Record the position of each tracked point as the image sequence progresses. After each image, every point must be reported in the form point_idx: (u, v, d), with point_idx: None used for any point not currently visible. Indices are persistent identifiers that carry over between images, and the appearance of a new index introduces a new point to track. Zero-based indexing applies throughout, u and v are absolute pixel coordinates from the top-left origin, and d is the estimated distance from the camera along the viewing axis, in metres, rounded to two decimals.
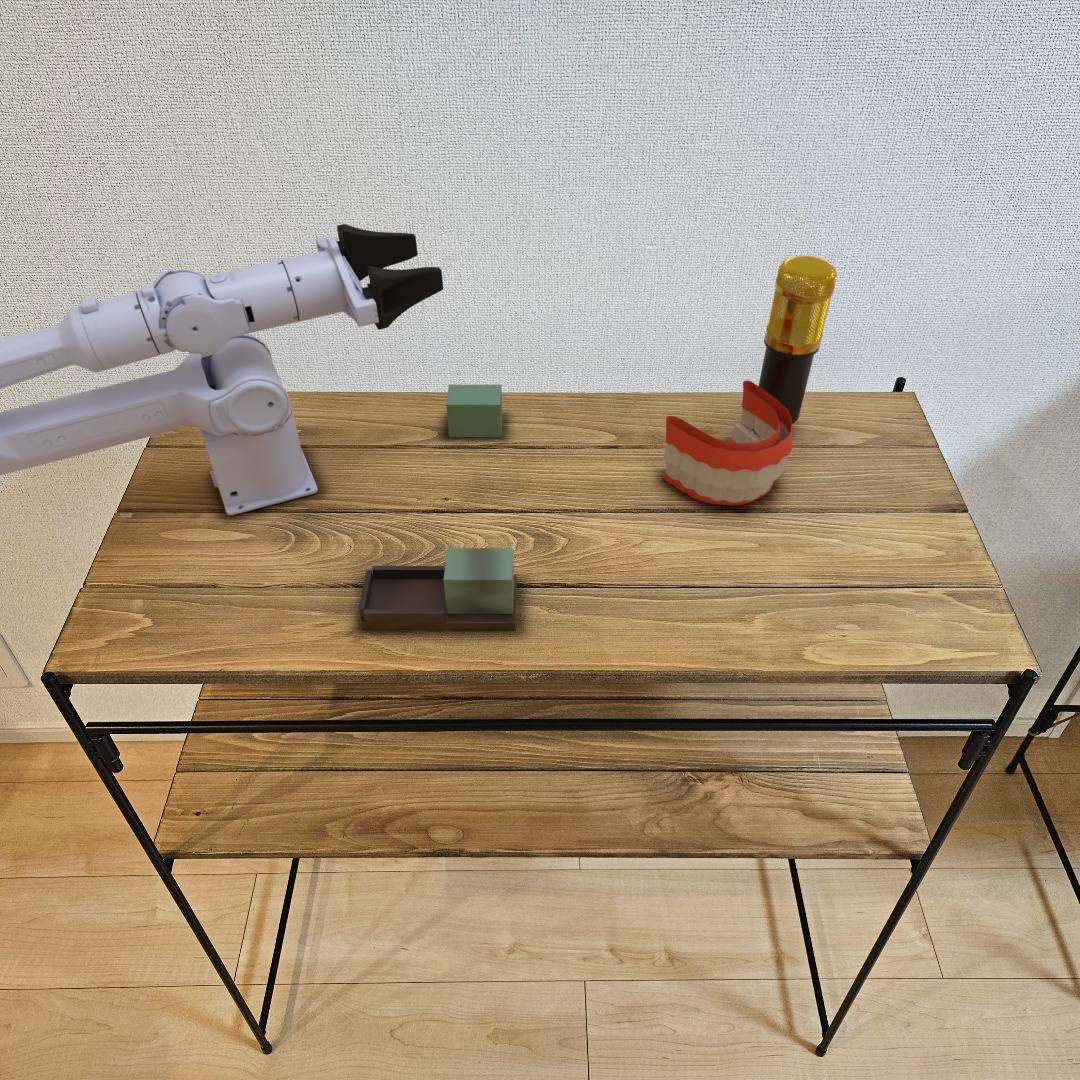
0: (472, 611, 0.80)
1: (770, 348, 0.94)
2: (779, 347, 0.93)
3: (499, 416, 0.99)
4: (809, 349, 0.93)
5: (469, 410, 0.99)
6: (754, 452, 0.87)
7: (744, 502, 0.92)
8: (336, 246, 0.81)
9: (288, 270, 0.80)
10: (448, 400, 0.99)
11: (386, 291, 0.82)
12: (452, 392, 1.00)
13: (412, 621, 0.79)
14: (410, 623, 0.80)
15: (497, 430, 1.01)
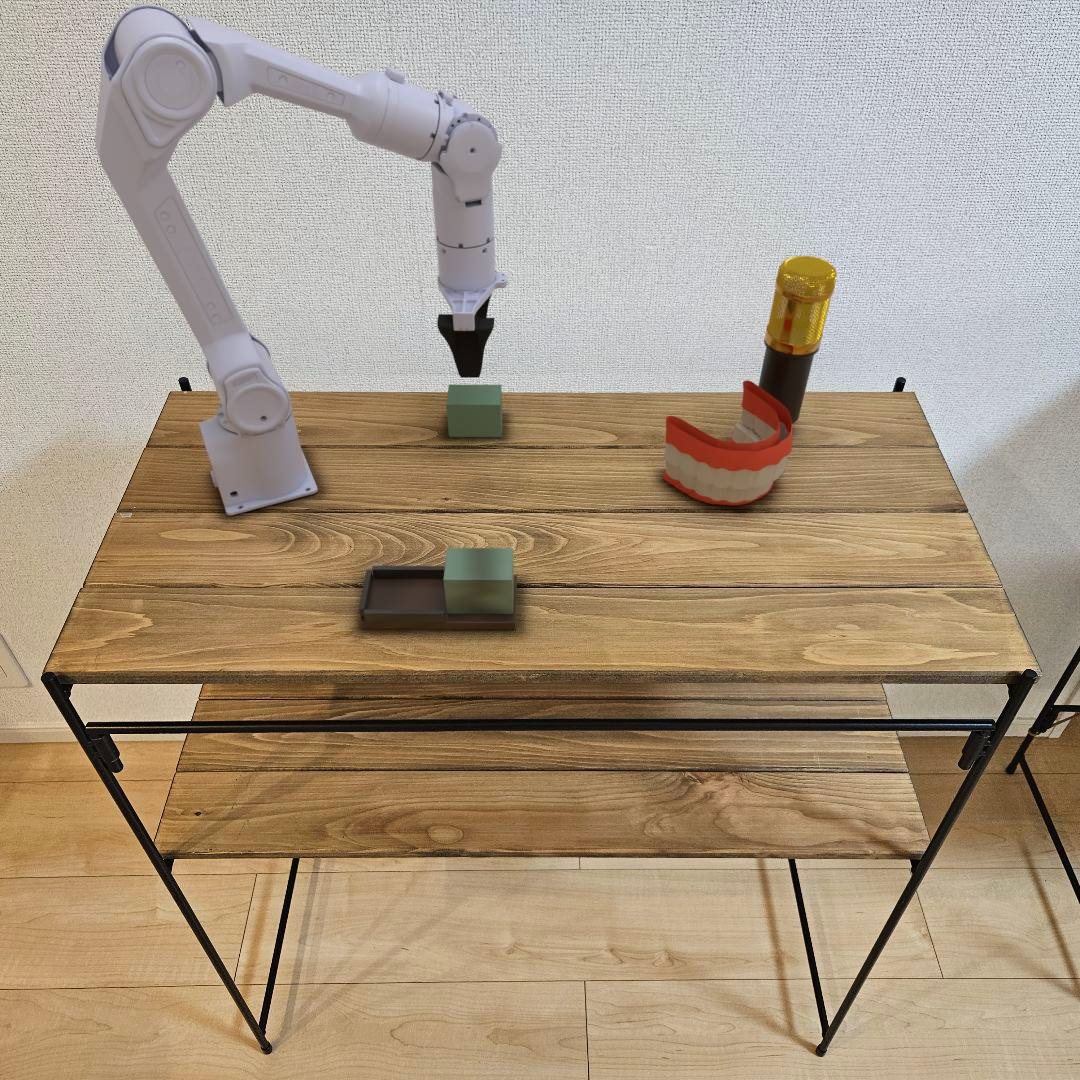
0: (472, 611, 0.80)
1: (770, 348, 0.94)
2: (779, 347, 0.93)
3: (499, 416, 0.99)
4: (809, 349, 0.93)
5: (469, 410, 0.99)
6: (754, 452, 0.87)
7: (744, 502, 0.92)
8: (504, 286, 0.90)
9: (491, 242, 0.86)
10: (448, 400, 0.99)
11: (469, 331, 0.89)
12: (452, 392, 1.00)
13: (412, 621, 0.79)
14: (410, 623, 0.80)
15: (497, 430, 1.01)
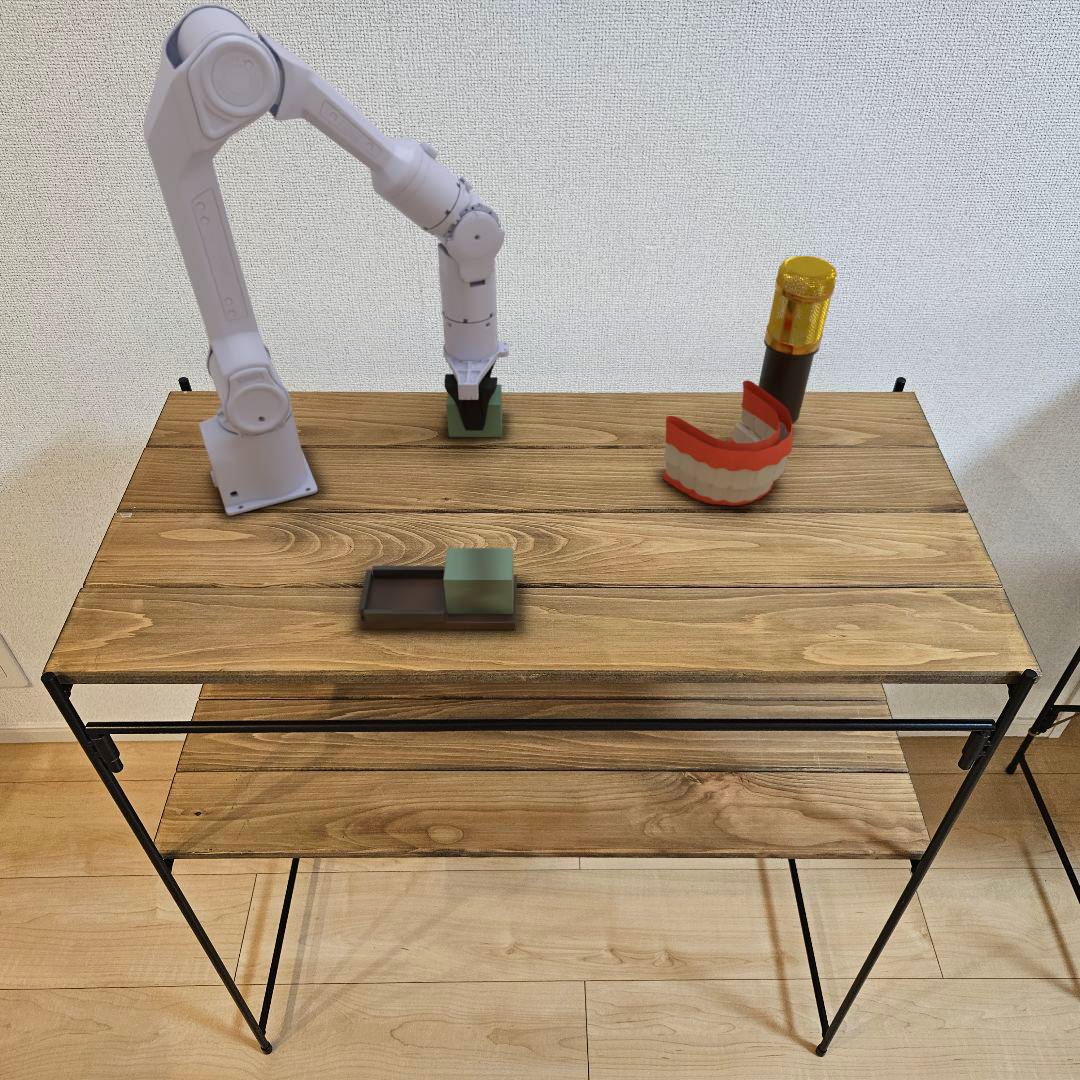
0: (472, 611, 0.80)
1: (770, 348, 0.94)
2: (779, 347, 0.93)
3: (499, 416, 0.99)
4: (809, 349, 0.93)
5: None
6: (754, 452, 0.87)
7: (744, 502, 0.92)
8: (506, 355, 0.95)
9: (493, 316, 0.92)
10: (448, 400, 0.99)
11: None
12: None
13: (412, 621, 0.79)
14: (410, 623, 0.80)
15: (497, 430, 1.01)
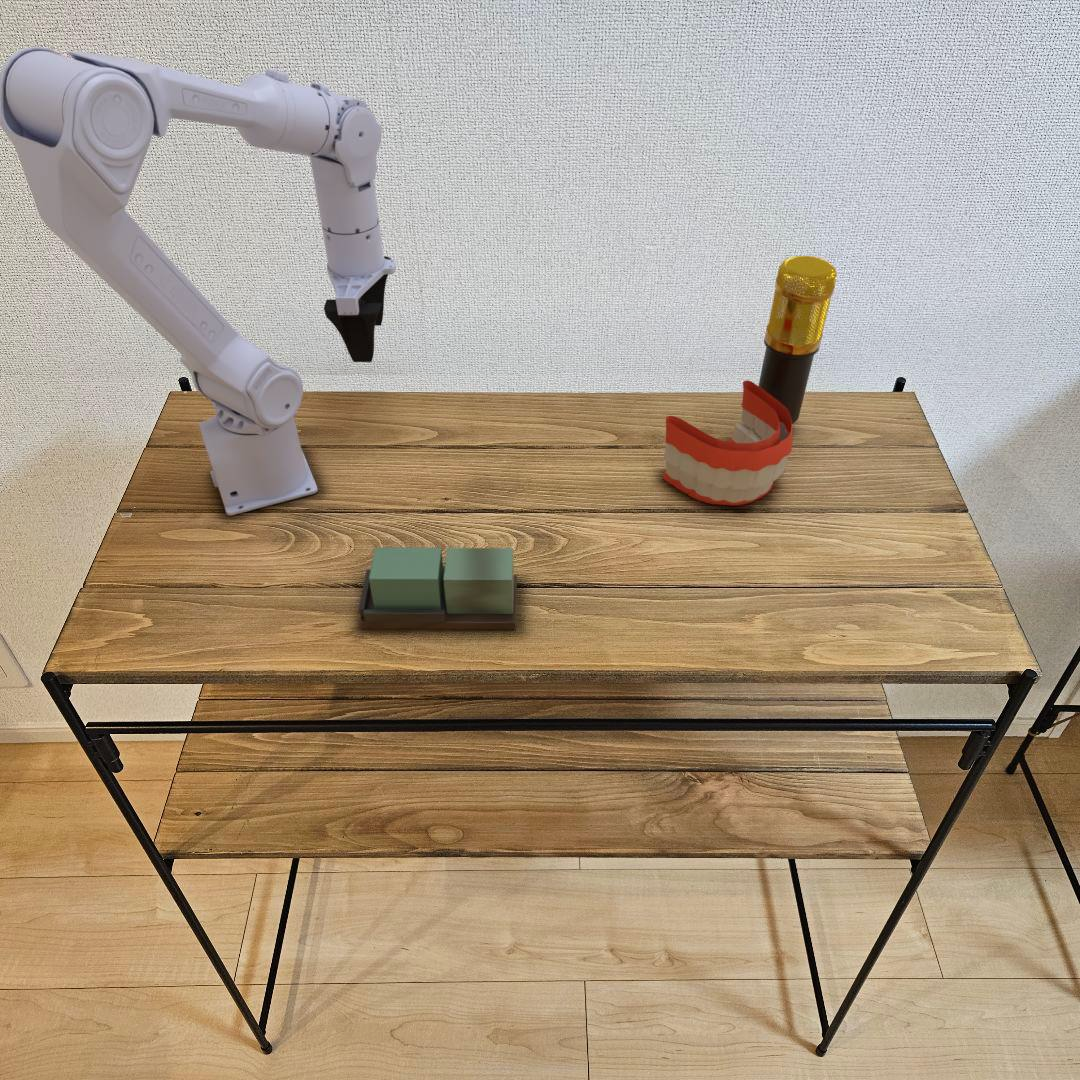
0: (472, 611, 0.80)
1: (770, 348, 0.94)
2: (779, 347, 0.93)
3: (437, 591, 0.78)
4: (809, 349, 0.93)
5: (398, 584, 0.78)
6: (754, 452, 0.87)
7: (744, 502, 0.92)
8: (392, 272, 0.92)
9: (374, 229, 0.88)
10: (372, 572, 0.78)
11: None
12: (378, 560, 0.79)
13: (412, 621, 0.79)
14: (410, 623, 0.80)
15: (436, 606, 0.80)
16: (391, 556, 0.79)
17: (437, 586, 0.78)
